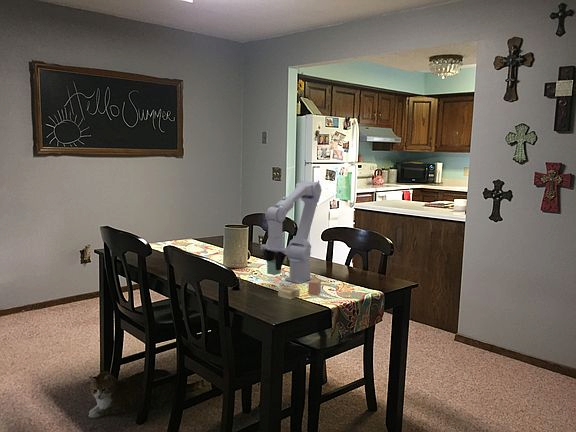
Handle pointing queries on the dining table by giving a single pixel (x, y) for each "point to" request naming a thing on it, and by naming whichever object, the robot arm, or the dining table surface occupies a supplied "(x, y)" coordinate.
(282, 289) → the maple block
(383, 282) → the dining table surface
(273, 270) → the teal block
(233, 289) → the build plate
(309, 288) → the terracotta block
